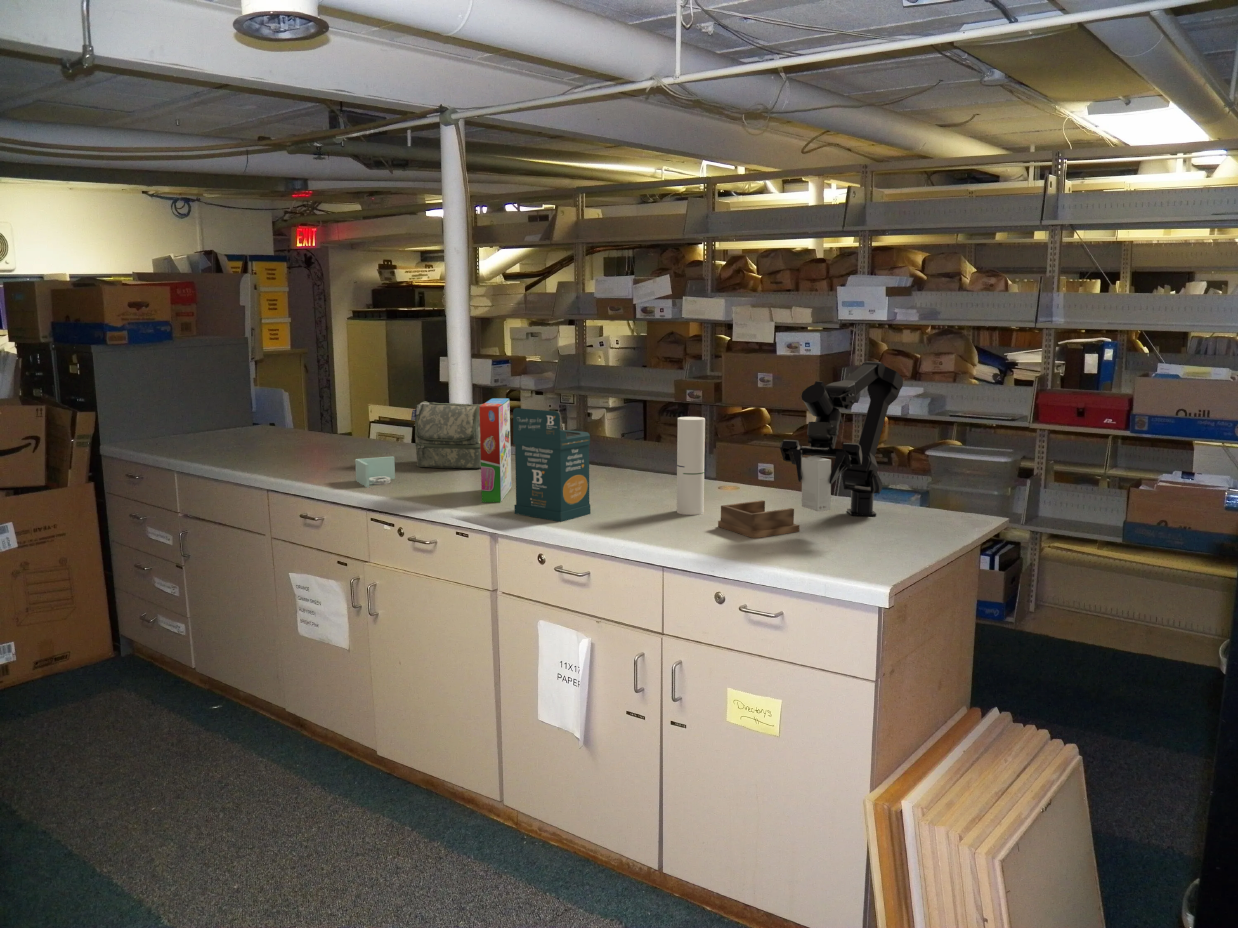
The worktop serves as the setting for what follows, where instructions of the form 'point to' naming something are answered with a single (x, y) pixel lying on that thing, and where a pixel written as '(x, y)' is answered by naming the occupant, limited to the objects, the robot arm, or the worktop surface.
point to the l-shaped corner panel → (375, 470)
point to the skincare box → (816, 483)
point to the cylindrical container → (690, 465)
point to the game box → (495, 449)
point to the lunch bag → (447, 435)
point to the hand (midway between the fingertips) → (814, 482)
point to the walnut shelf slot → (757, 519)
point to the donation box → (550, 467)
